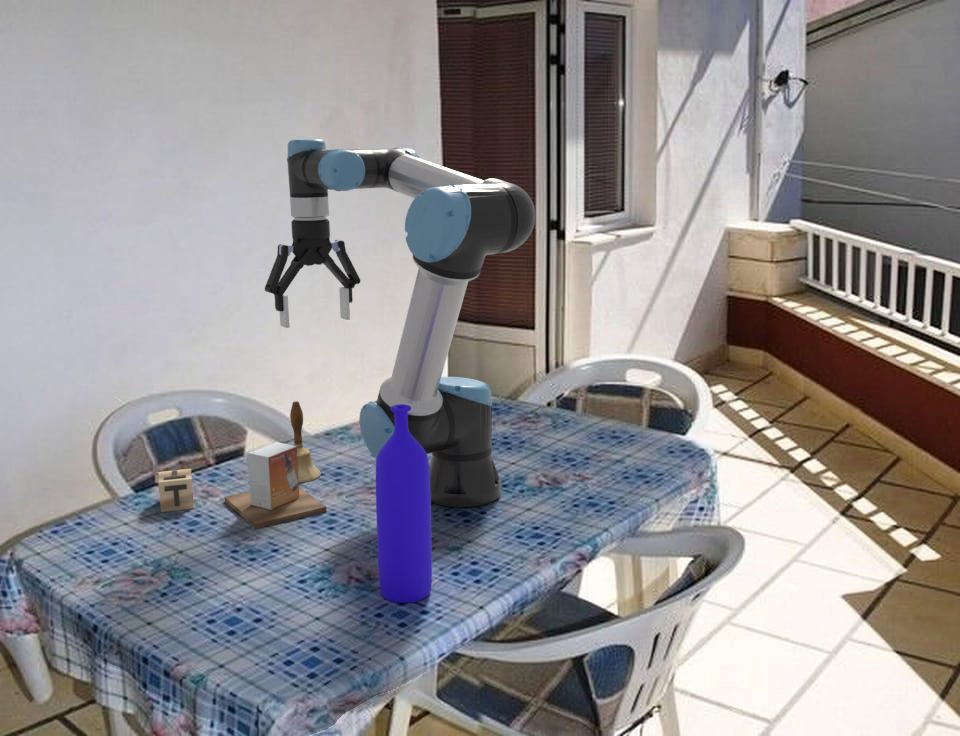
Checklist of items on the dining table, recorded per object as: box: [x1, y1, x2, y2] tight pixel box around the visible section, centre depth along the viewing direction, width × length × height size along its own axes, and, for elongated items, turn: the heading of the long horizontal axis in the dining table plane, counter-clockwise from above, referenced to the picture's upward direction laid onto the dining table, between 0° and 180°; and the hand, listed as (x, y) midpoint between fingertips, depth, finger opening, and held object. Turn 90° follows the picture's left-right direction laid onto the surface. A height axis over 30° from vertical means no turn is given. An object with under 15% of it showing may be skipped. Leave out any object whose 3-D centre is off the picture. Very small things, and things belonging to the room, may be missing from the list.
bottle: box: [375, 404, 433, 604], centre depth 146 cm, size 8×8×30 cm
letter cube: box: [157, 468, 195, 513], centre depth 185 cm, size 6×6×6 cm
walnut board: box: [224, 486, 328, 529], centre depth 185 cm, size 16×14×1 cm
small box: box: [246, 441, 300, 510], centre depth 183 cm, size 8×6×10 cm
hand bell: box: [289, 400, 322, 484], centre depth 199 cm, size 8×8×16 cm
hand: (315, 322), depth 198 cm, fingers open, 13 cm apart
